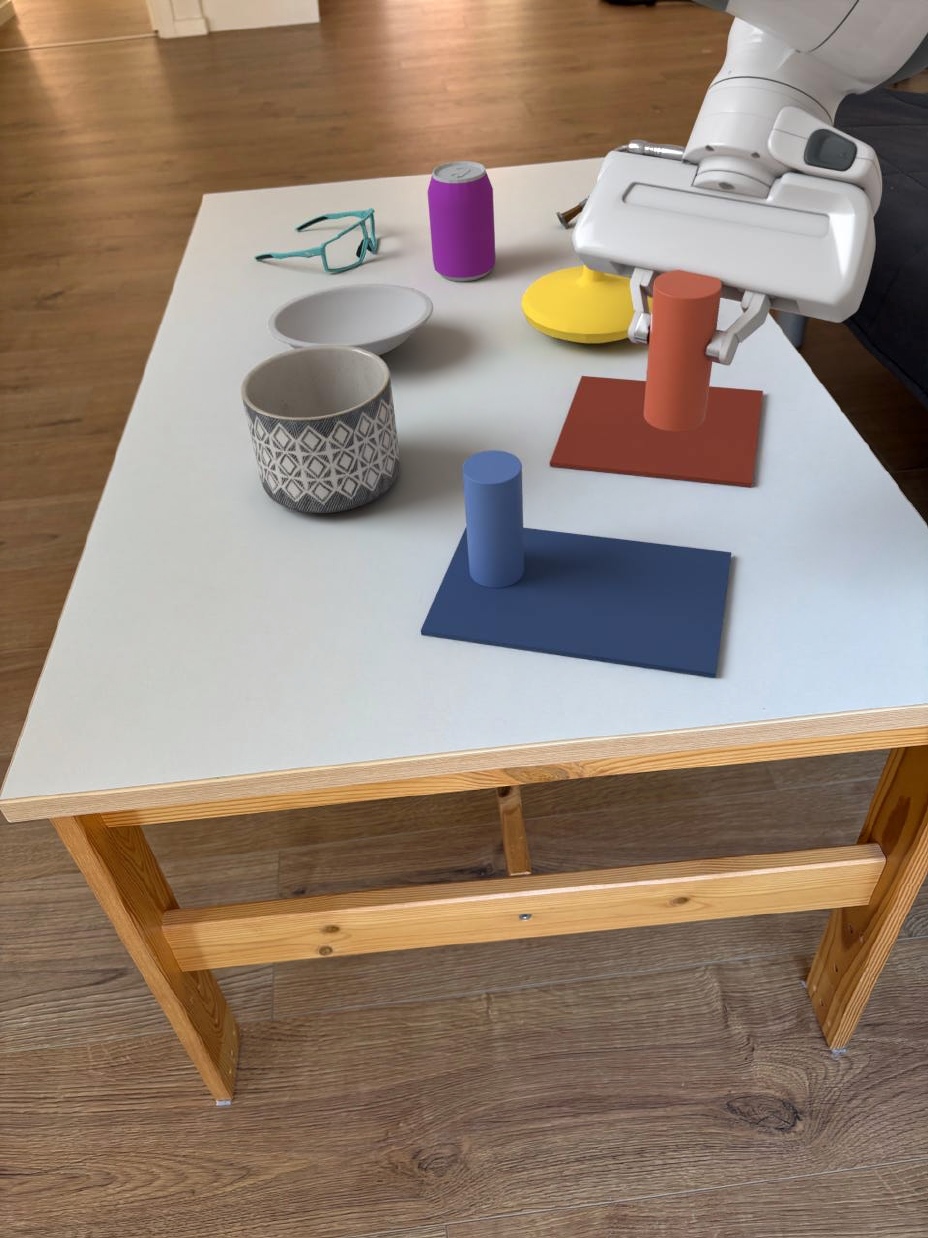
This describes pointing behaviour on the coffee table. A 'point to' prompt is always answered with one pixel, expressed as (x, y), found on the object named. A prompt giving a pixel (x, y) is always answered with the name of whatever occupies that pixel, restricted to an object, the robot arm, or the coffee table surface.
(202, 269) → the coffee table surface
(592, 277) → the vase
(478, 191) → the beverage can
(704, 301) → the red peg
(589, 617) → the blue mat
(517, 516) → the blue peg
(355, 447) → the planter
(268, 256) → the sunglasses
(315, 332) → the dish
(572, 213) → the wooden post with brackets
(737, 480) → the red mat
